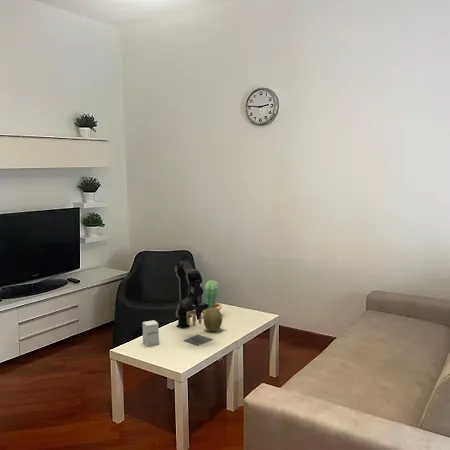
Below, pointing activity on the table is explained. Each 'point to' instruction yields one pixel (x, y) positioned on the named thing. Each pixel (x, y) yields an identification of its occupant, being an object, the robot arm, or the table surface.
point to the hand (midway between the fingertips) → (194, 318)
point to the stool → (193, 317)
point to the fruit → (212, 319)
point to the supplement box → (150, 333)
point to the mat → (198, 340)
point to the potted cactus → (211, 295)
